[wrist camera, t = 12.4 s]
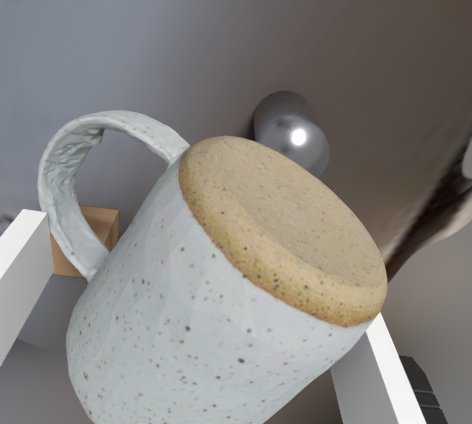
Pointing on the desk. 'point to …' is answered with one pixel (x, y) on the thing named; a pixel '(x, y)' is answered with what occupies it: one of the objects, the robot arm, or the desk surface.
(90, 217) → the walnut block
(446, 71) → the desk surface
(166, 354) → the ceramic mug
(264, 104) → the dark metal cylinder
